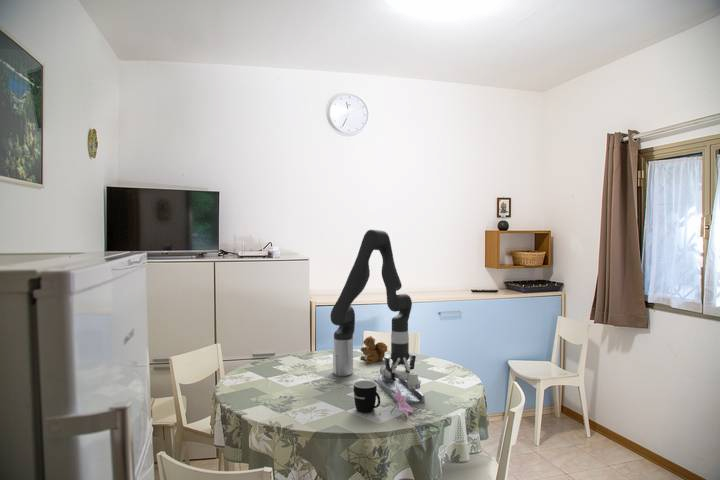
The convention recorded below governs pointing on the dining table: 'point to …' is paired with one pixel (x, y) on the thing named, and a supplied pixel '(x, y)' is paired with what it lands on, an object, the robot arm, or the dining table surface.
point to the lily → (401, 402)
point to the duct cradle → (390, 387)
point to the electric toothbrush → (404, 377)
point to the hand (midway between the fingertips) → (400, 379)
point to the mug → (365, 396)
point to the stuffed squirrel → (373, 350)
